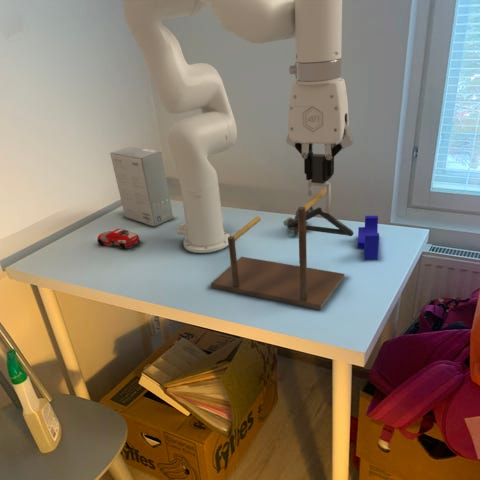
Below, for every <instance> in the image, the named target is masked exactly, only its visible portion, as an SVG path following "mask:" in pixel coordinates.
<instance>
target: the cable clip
mask: <svg viewBox="0 0 480 480" xmlns="http://www.w3.org/2000/svg"><path fill="white" fill-rule="evenodd" d="M378 224H379V216H378V215H365V216H364V226H358V231H357V249H362V250H364V251H363V260H364V261H378V260H379V247H380V246H379V245H380V232H378V226H379V225H378Z"/></svg>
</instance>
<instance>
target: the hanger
mask: <svg viewBox="0 0 480 480" xmlns="http://www.w3.org/2000/svg"><path fill="white" fill-rule="evenodd" d="M324 159H325V153H313V155H312V156H311V180H308V181H307V195H308V197H311V196H312V197H313V186H315V187H326V194H325V195H326V196H325V198H326V199H325V202H326V203H325V208H322V207H320V206H319V207H317V208H315V209H313V211H311V212H309V213H307V214H306V222H308V221H309V220H310V219H312V218H314V217H316V216H318V215H319V216H321V217H322V218H324V219H325V220H326V221H328V222H329V223H330V224H332V225H333V226H334V227H336V228H332V227H325V226H317V225H308V224H306V230H307V231H310V232H318V233H324V234H333V235H334V234H335V235H340V236H342V235H343V236H348V237H353V236H354V231H353V230H352V228H349V227H348V226H347V225H346V224H344V223H343V222H342V221H340V220H339V219H337V218H335V216H333V215H332V214H330V213H331V204H332V203H331V202H332V201H331V195H332V194H331V193H332V191H331V189H332V188H331V187H332V186H331V185H332V184H331V182H328V181H326V182H325V181H323V180H322V162H323V160H324ZM286 227H287V229H289V230H290V229H291V228H293V229H298V219H296V220H294V221H292V222H290V223H288V224H287V226H286Z"/></svg>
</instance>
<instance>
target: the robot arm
mask: <svg viewBox="0 0 480 480" xmlns="http://www.w3.org/2000/svg"><path fill="white" fill-rule="evenodd" d="M207 6H209V7H211V9H212V12H213V15H214V17H215V19H216V20H217V22H218V24H219V25H220V27H222V28H223V29H224V30H226V31H227V32H229V33H231V34H233V35H234V36H236V37H237V38H240V39H242V40H243V41H245V42H249V43H251V44H266V43H267V44H268V43H271V42H277V41H282V40H289V39H294V38H295V63H294V65H290V66H289V71H288V72H289V75H294V76H295V79H296V81H293V82H292V84H291V88H290V89H291V90H290V94H289V95H290V96H289V105H288V126H287V127H288V134H287V137H286V139H285V142H286V144H288V145H290V146H291V147H293V148H295V149H296V151H297V152H298V153H299V154H300V155H301V158H302V159H303V163H304V164H303V166H304V167H303V168H304V169H303V172H304V175H305V180H306V181H311V156H312V155H313V154H314V144H319V145H320V144H321V145H324V154H325V159H324V160H323V162H322V180H323V181H325V182H328V181H329V180H330V179H331V178H332V177H333V175H335V157H336V156H337V154H339V152H341V151H342V150H344V149H346V148H348V147H351V146H352V145H353V144H354V143H355V141H354V138H353V135H352V133H351V130H350V128H349V125H350V124H349V101H348V93H347V86H346V82H345V81H346V80H345V78H342V41H343V39H342V36H343V0H122V8H123V15H124V18H125V21H126V24H127V26H128V29H129V30H130V33H131V35H132V37H133V39H134V41H135V42H136V44H137V45H138V47H139V49H140V51H141V54H142V56H143V58H144V61H145V63H146V67H147V69H148V73H149V75H150V78H151V80H152V83H153V86H154V88H155V92H156V94H157V97H158V99H159V101H160V104H161V106H162V108H163V109H164V110H165V112H167V113H169V114H172V115H173V114H174V115H176V114H182V113H183V114H184V113H187V112H191V111H194V110H198V109H200V111H201V113H199V114H195V115H191V116H188V117H185V118H181V119H179V120H177V121H176V122H174V123H173V124H172V125H171V127H169V130H168V133H167V142H168V147H169V150H170V152H171V155H172V158H173V160H174V164H175V167H176V173H177V177H178V183H179V188H180V195H181V200H182V201H181V202H182V208H183V213H184V220H185V224H184V223H179V224H178V229H177V230H176V234H178V235H183V236H184V240H183V247H184V249H185V250H187V251H188V252H191V253H195V254H207V253H208V254H209V253H214V252H219V251H221V250H223V249H224V248H227V247H229V245H228V237H230V236H231V235H230V233H229V232H226V231H225V229H224V219H223V211H222V203H221V195H220V186H219V177H218V173H217V171H216V169H215V168H214V166H213V165H212V164H211V162H210V161H209V159H208V158H209V157H211V156H213V155H216V154H218V153H223V152H224V151H227V150H229V149H231V148H232V147H234V145H235V143H236V142H237V138H238V128H237V123H236V119H235V116H234V112H233V110H232V106H231V104H230V99H229V98H228V95H227V91H226V88H225V85H224V83H223V79H222V77H221V76H220V74H219V73H218V70H217V69H216V68H215V67H214V66H213V65H211V64H209V63H206V62H196V63H191V64H189V63H188V62H187V61H186V58H185V56H184V54H183V53H184V52H183V51H182V47H181V45H180V42H179V41H178V39H177V38H176V36H175V35H174V34H173V32H172V31H171V30H169V28H168V27H166V26H165V25H164V23H163V22H162V21H163V20H170V19H171V20H172V19H179V18H188V17H192V16H196V15H197V14H199V13H200V12H202V11H203V10H204V9H205V8H206V7H207ZM341 140H342V141H341Z"/></svg>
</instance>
